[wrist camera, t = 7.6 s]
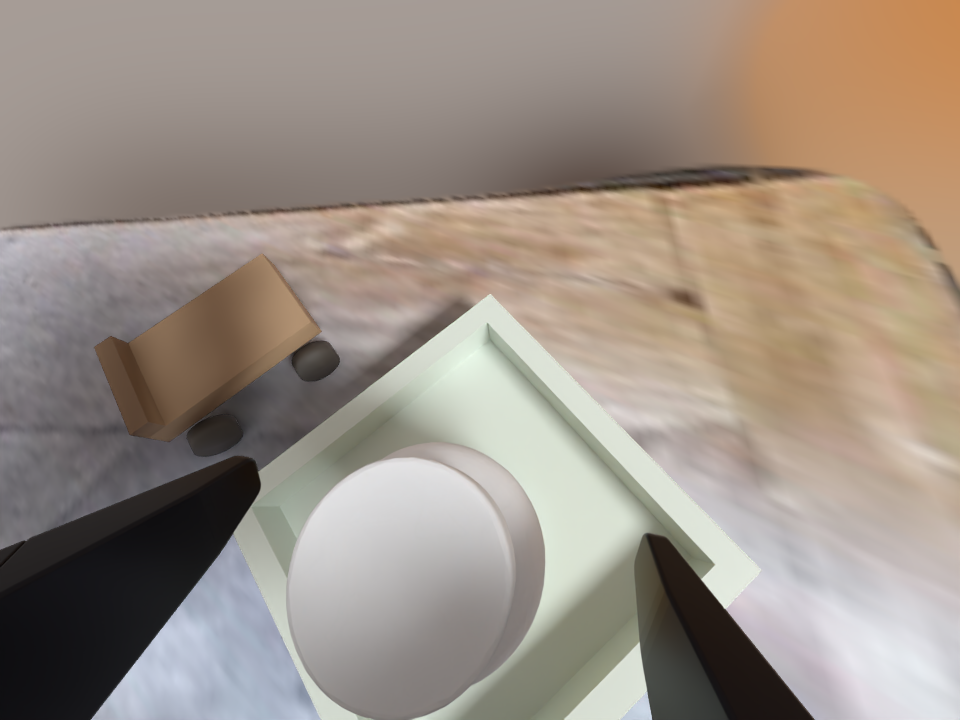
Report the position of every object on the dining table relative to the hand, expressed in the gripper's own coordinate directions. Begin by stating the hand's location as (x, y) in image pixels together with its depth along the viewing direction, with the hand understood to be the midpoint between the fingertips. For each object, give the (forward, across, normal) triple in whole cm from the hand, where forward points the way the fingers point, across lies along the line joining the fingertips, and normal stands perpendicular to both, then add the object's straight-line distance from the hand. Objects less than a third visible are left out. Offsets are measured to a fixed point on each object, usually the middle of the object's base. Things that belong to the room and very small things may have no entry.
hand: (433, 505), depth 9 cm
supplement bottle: (+5, 0, +6) cm, 8 cm away
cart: (+9, +13, +2) cm, 16 cm away
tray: (+5, 0, +7) cm, 8 cm away
